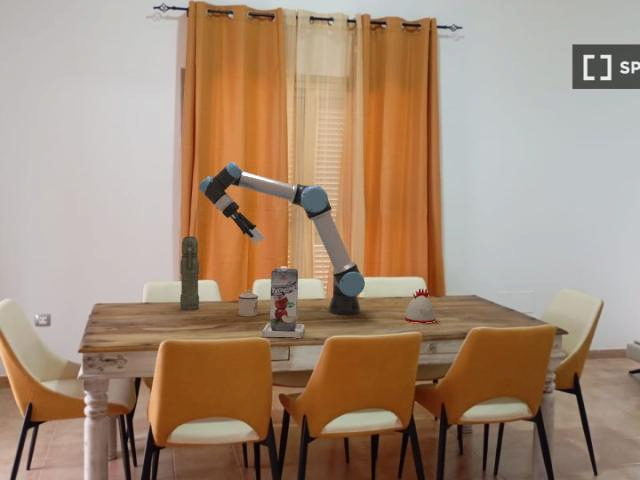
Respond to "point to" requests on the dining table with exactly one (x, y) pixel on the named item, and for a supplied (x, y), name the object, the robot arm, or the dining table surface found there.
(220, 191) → the robot arm
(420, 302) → the grey dome with crest
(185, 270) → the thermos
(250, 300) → the teacup with lid
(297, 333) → the carton tray
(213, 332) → the dining table surface
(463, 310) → the dining table surface
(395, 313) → the dining table surface
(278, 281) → the juice carton
